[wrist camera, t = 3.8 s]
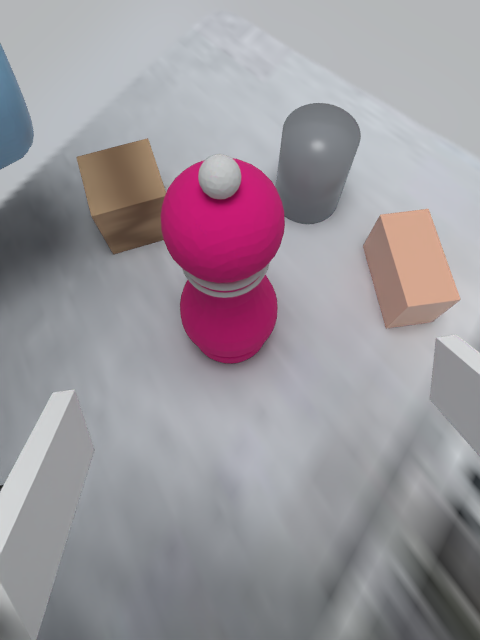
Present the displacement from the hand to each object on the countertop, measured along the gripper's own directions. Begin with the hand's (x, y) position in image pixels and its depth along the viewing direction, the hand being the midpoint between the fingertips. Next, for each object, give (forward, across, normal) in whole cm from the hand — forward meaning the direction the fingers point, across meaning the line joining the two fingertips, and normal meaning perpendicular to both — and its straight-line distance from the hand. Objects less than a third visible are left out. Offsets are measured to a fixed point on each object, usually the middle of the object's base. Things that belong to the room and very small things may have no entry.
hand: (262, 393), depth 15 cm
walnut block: (+28, -7, +2) cm, 29 cm away
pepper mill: (+19, 0, -6) cm, 20 cm away
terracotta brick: (+21, +15, -5) cm, 26 cm away
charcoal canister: (+28, +9, +2) cm, 29 cm away
